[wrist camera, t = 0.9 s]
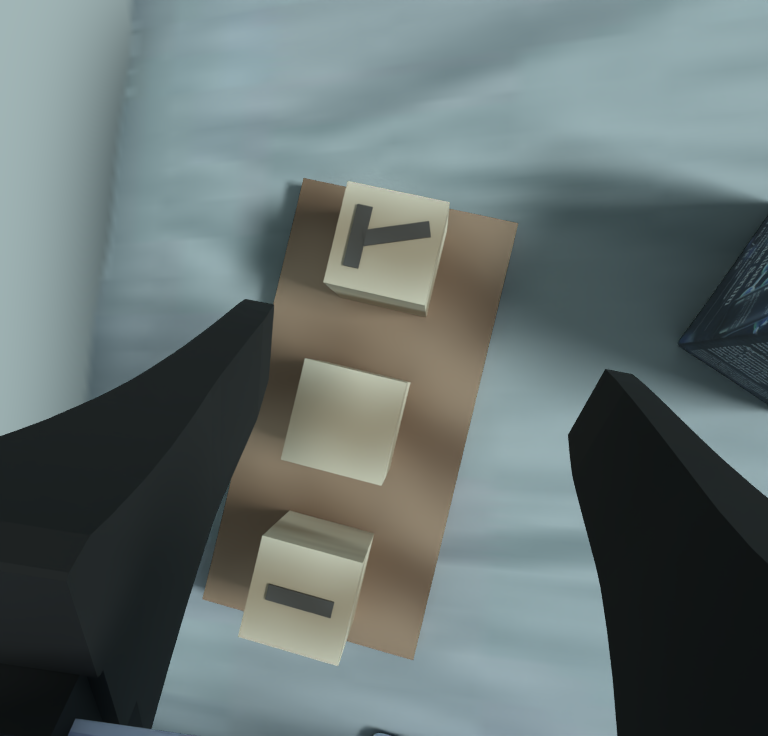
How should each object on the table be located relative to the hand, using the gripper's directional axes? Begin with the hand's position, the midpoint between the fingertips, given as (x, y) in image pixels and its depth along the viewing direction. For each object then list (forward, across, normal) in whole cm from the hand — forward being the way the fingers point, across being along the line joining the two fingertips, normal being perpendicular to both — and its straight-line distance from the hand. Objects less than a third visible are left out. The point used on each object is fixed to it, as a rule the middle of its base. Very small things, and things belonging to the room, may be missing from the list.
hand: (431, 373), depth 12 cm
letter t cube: (+13, +1, +4) cm, 14 cm away
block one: (+4, +1, +15) cm, 16 cm away
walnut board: (+10, +1, +10) cm, 14 cm away
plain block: (+9, +1, +10) cm, 13 cm away
